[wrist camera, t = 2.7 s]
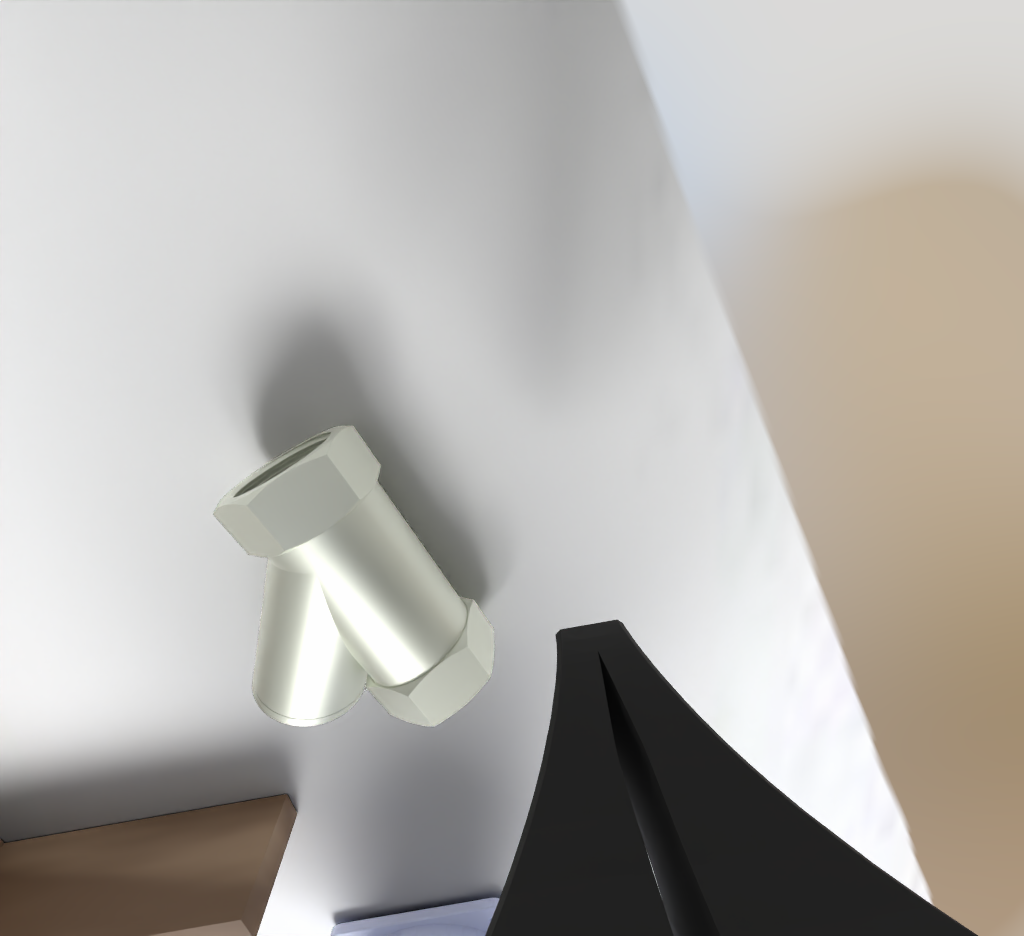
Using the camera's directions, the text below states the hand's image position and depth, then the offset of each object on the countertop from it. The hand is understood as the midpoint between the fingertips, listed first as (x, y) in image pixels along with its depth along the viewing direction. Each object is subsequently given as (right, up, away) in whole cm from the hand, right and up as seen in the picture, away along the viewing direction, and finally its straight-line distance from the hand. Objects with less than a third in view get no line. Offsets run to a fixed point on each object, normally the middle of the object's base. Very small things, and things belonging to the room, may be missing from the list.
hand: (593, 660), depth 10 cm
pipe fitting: (-7, +1, +5) cm, 9 cm away
